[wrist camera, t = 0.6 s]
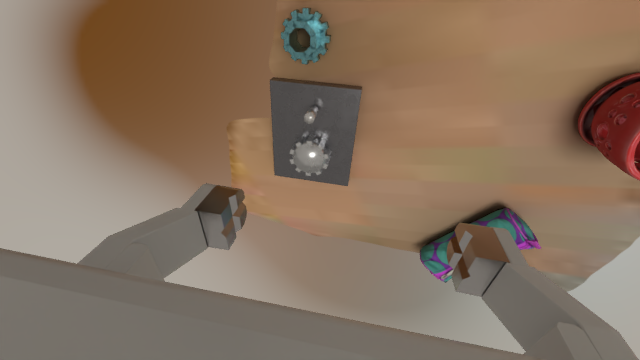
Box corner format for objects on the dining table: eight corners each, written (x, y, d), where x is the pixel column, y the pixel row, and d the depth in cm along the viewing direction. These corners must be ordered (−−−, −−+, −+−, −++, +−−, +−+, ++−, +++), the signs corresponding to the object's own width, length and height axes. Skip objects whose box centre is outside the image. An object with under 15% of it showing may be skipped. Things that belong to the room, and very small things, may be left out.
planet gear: (283, 6, 41) (273, 7, 37) (332, 9, 41) (327, 11, 36) (284, 60, 46) (275, 65, 42) (328, 64, 45) (324, 70, 41)
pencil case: (439, 260, 66) (447, 295, 58) (416, 240, 64) (421, 274, 56) (526, 220, 55) (551, 256, 47) (502, 194, 53) (524, 228, 45)
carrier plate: (273, 77, 48) (261, 86, 43) (362, 86, 46) (360, 97, 41) (277, 170, 59) (268, 185, 54) (348, 180, 57) (345, 197, 53)
